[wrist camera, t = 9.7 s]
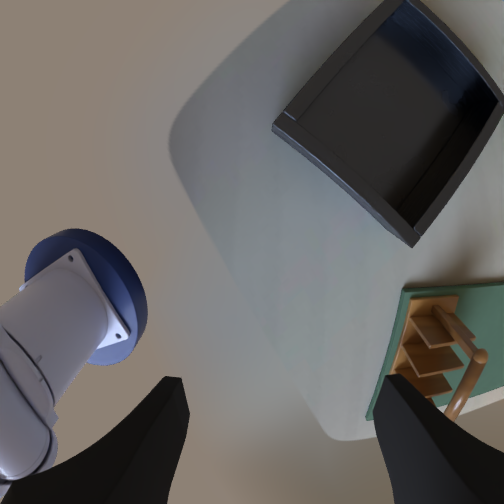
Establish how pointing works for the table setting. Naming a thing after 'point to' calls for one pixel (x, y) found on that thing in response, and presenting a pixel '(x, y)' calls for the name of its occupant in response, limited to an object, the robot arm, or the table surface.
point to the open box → (396, 116)
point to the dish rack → (437, 351)
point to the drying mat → (478, 322)
